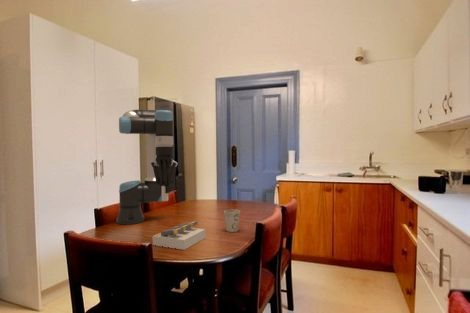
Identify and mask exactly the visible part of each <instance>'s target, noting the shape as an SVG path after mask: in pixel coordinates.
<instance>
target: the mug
mask: <svg viewBox="0 0 470 313" xmlns="http://www.w3.org/2000/svg"><path fill="white" fill-rule="evenodd" d="M223 214H224V222H225V229H226V231H227V232H228V233H237V232H238V231H239V228H240V219H241V210H239V209H233V208H232V209H225V210H224V211H223Z"/></svg>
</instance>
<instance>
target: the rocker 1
mask: <svg viewBox="0 0 470 313" xmlns="http://www.w3.org/2000/svg"><path fill="white" fill-rule="evenodd" d="M169 229H170V228H169ZM182 231H184V230H183V227H182V228H176V229H170V230H168V229H165V230H163V231H160V233H161V236H162V235H168V234H175V233H179V232H182Z"/></svg>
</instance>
